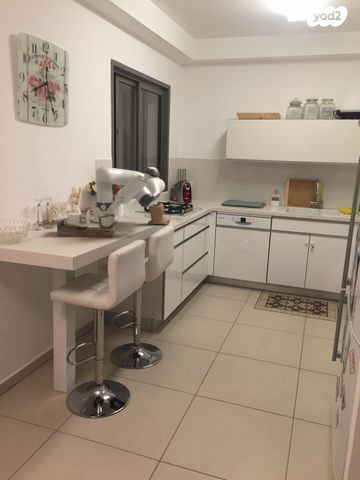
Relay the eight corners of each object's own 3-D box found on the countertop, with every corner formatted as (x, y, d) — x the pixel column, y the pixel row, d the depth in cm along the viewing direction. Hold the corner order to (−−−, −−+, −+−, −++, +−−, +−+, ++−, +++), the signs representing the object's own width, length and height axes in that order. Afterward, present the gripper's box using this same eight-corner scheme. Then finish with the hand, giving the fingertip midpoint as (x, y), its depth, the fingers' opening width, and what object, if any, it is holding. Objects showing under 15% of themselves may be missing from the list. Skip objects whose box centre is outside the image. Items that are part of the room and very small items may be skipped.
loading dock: (63, 231, 254) (63, 218, 253) (115, 232, 256) (115, 220, 254) (57, 236, 240) (57, 222, 238) (112, 237, 241) (112, 224, 240)
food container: (108, 227, 272) (108, 212, 270) (114, 228, 269) (114, 213, 267) (93, 229, 263) (93, 214, 261) (100, 231, 259) (100, 215, 257)
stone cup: (146, 225, 288) (146, 203, 284) (149, 222, 299) (150, 202, 296) (167, 226, 286) (168, 205, 283) (170, 223, 297) (171, 203, 294)
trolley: (68, 226, 251) (67, 207, 249) (89, 226, 252) (89, 207, 250) (64, 229, 242) (64, 209, 239) (86, 229, 242) (86, 210, 240)
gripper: (126, 202, 234) (109, 219, 236) (129, 198, 254) (113, 213, 256) (118, 194, 233) (101, 211, 235) (121, 191, 253) (105, 206, 255)
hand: (107, 212), depth 245 cm, fingers closed
